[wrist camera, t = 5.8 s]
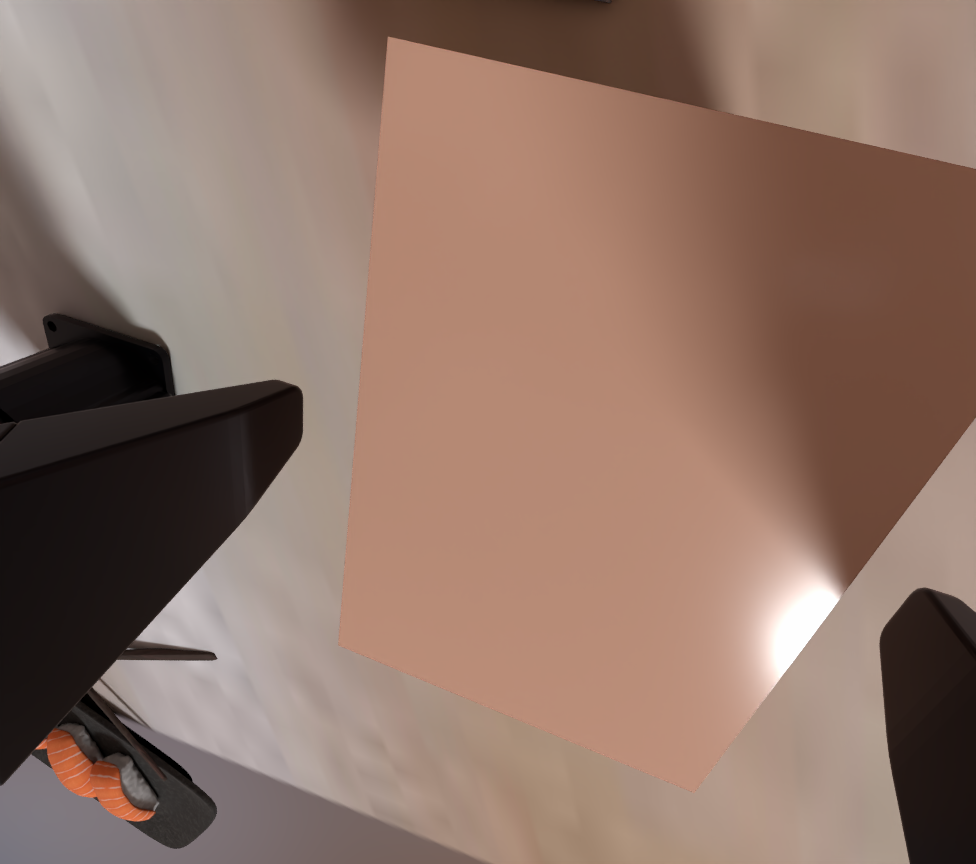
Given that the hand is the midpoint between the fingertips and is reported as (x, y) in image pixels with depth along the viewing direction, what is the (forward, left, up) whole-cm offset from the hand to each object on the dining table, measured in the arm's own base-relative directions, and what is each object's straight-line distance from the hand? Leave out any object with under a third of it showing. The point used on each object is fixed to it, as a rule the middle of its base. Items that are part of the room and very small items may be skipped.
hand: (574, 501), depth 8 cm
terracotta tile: (0, 0, -2) cm, 2 cm away
